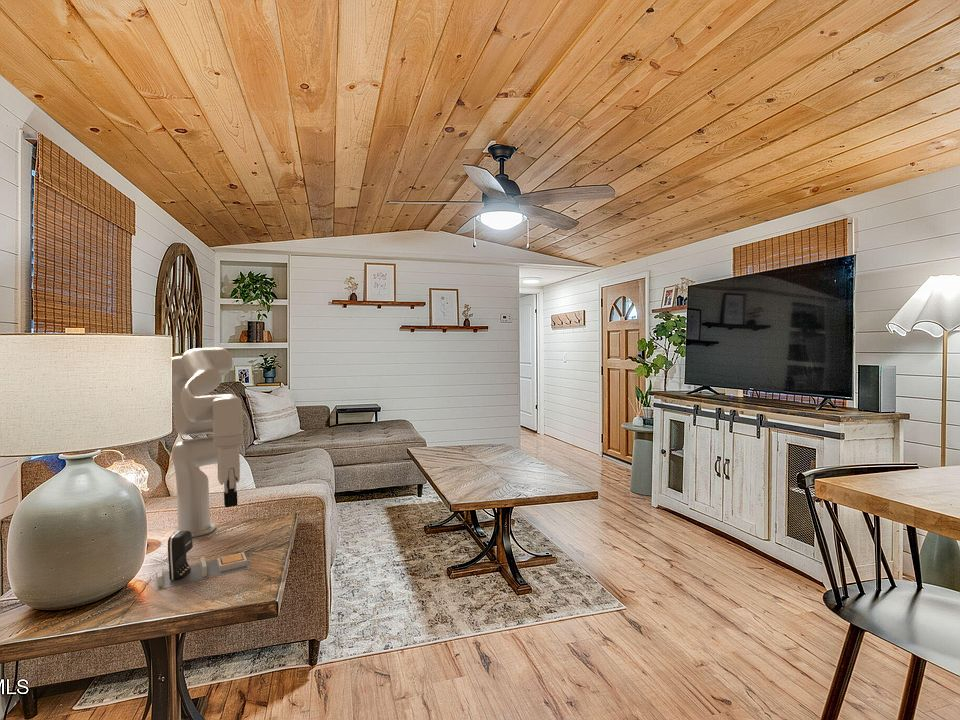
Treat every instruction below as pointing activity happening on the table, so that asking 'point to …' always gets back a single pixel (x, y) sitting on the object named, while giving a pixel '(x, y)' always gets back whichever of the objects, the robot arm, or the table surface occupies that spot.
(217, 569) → the charging dock
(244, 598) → the table surface
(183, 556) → the battery charger
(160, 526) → the table surface
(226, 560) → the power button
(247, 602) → the table surface
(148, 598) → the table surface
